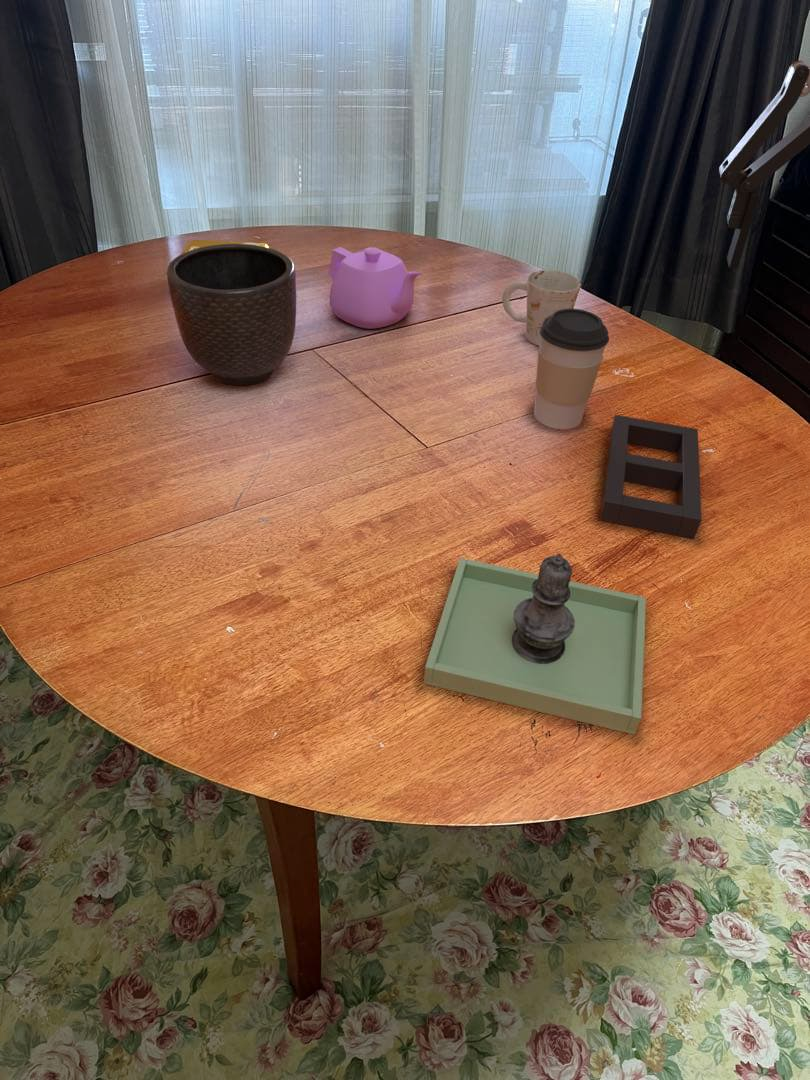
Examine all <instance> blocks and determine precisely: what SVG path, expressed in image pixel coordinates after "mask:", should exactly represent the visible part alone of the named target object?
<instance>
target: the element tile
mask: <svg viewBox="0 0 810 1080" xmlns="http://www.w3.org/2000/svg"><path fill="white" fill-rule="evenodd" d="M220 244H249V245H257V246H263V247H267V248H270V247H269V245H268V244H267V243H263V242H252V241H251V242H250V241H229V240H210V239H209V240H206V239H192V240H191V241H189V242H188V243H187V244H186V245H185V247H184V249H183V250H182V252H181V254H183V253H185V252H188V251H190V250H193V249H197V248H201V247H206V246H212V245H220ZM181 254H180V255H181Z"/></svg>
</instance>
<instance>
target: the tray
mask: <svg viewBox="0 0 810 1080" xmlns="http://www.w3.org/2000/svg"><path fill="white" fill-rule="evenodd" d="M538 575H539V573H534V572H529V571H525V570H520V569H515V568H510V567H506V566H501V565H496V564H491V563H487V562H482V561H477V560H473V559H467V558H463V557H459V560H458V563H457V566H456V569H455V572H454V575H453V579H452V582H451V585H450V587H449V591H448V593H447V597H446V600H445V604H444V607H443V609H442V613H441V616H440V618H439V621H438V625H437V629H436V632H435V634H434V638H433V641H432V644H431V646H430V647H431V648H430V650H429V654H428V656H427V659H426V663H425V665H424V674H423V675H424V676H423V684H424V685H428V686H431V687H436V688H440V689H444V690H448V691H452V692H456V693H460V694H465V695H469V696H473V697H477V698H482V699H486V700H490V701H494V702H498V703H502V704H507V705H510V706H515V707H518V708H522V709H527V710H531V711H534V712H539V713H544V714H546V715H547V714H548V715H551V716H555V717H559V718H564V719H568V720H571V721H577V722H580V723H585V724H589V725H593V726H597V727H599V728H600V727H601V728H604V729H610V730H613V731H618V732H622V733H626V734H630V735H633V736H634V735H636V733H637V730H638V728H639V725H640V723H641V720H642V711H643V710H642V709H643V688H644V687H643V686H644V685H643V684H644V663H645V662H644V661H645V639H646V636H645V635H646V615H647V614H646V613H647V597H646V596H643V595H638V594H633V593H629V592H623V591H619V590H614V589H609V588H605V587H600V586H597V585H596V586H595V585H592V584H586V583H581V582H578V581H577V582H576V581H571V580H570V582H569V586H568V587H569V589H570V598H569V600H568V601H567V602H565V604H564V605H565V606H566V607H567V608H568V609H569V610H570V612H571V613H572V614H573V617H574V620H575V627H574V630H573V632H572V633H571V635H570V636H569V637H568V638H566V639H565V640H564V642H565V651H564V653H563V655H562V656H561V657H560V659H558V660H556V661H555V662H552V663H548V664H538V663H533V662H530V661H528V660H526V659H524V658H522V657H521V656H520V655H519V654H518V653H517V652H516V651H515V649H514V648H513V645H512V635H513V633H514V631H515V630H516V629H517V627H516V624H515V621H514V618H513V617H514V610H515V608H516V606H517V605H518V604H519V603H520V602H522V601H524V600H525V599H528V598H532V597H533V593H532V584H533V582H534V581H535V580H537V579H538Z"/></svg>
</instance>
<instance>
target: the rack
mask: <svg viewBox="0 0 810 1080" xmlns="http://www.w3.org/2000/svg"><path fill="white" fill-rule="evenodd" d="M698 432H699V429H698V428H694V427H688V426H682V425H677V424H670V423H664V422H659V421H653V420H647V419H642V418H637V417H636V418H635V417H630V416H626V415H619V414H614V416H613V421H612V425H611V427H610V432H609V439H608V447H607V455H606V463H605V474H604V481H603V488H602V489H603V490H602V498H601V505H600V506H601V507H600V514H599V521H600V522H604V523H609V524H614V525H620V526H625V527H630V528H635V529H640V530H645V531H650V532H656V533H660V534H665V535H670V536H677V537H680V538H686V539H691V540H694V539H696V536H697V532H698V530H699V527H700V525H701V522H702V501H701V499H702V498H701V479H700V478H701V477H700V475H701V474H700V453H699V452H700V451H699V433H698ZM628 445H633V446H638V447H644V448H648V449H649V448H650V449H655V450H660V451H666V452H672V453H676V455H675V457H676V461H671V460H665V459H659V458H655V457H649V456H645V455H637V454H632V453H628V452H627V450H628ZM625 483H631V484H634V485H635V484H636V485H641V486H645V487H652V488H658V489H662V490H668V491H672V492H676V504H674V503H668V502H663V501H659V500H658V501H657V500H653V499H652V500H651V499H648V498H643V497H638V496H632V495H626V494H624V487H625Z"/></svg>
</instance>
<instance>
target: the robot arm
mask: <svg viewBox="0 0 810 1080" xmlns="http://www.w3.org/2000/svg"><path fill="white" fill-rule="evenodd" d="M809 94H810V65H807V64H806V63H805V62H804V61H802V60H795V61H793V63H791V64H790V66H789V68H788V70H787V73H786V75H785V78H784V80H783V82H782V85H781V87H780V90H778V92H777V94H776V95H775V96H774V97H773V99H772V100H771V101H770V103H768V105H767V106H766V107H765V108H764V109H763V111H762V112H761V114H759V116H758V118H757V119H756V120H755V121H754V123H752V125H751V127H750V128H749V129H748V130H747V131H746V133H745V134H744V135H743V137H742V138H741V139H740V140H739V142H737V144H736V146H735V147H734V148H733V150H732V151H731V152H730V153H729V154H728V156H727V157H725V159H724V160H723V162H722V163H721V164H720V166H719V169H718V172H719V176H720V180H721V182H722V183H723V184H725V185H726V184H727V185H730V186H732V187H733V188H734V192H733V195H732V199H731V203H730V206H729V209H728V213H727V216H726V221H727V225H728V226H727V227H728V229H734V234H733V236H732V239H731V243H730V247H729V248H728V249H729V250H728V253H727V256H726V260H727V265H728V268H729V269H734V270H738V268H739V266H740V262H741V258H742V255H743V253H744V250H745V246H746V243H747V239H748V236H749V234H750V231H751V227H752V225H753V221H754V218H755V214H756V211H757V209H758V205H759V203H760V199H761V194H760V191H759V189H758V187H759V186H760V185H761V184H762V183H764V182H765V181H767V180H768V179H769V178H770V177H771V176H772V175H774V174H775V173H776V172H777V171H779V170H780V169H781V168H782V167H784V166H785V165H786V164H787V163H789V162H790V161H791V160H792V159H794V157H796V156H797V155H798V154H800V153H801V152H802V151H803V150H804V149H806V148H807V147H808V146H809V145H810V114H809V115H808V116H807V117H806V119H805V120H803V121H802V122H801V123H799V125H797V126H796V127H795V128H794V129H792V130H791V131H790V132H788V133H787V134H786V135H785V136H784V137H783V138H781V140H779V141H778V142H776V143H775V144H774V145H773V146H772V147H771V148H770V149H768V150H767V151H766V152H765V153H763V154H762V155H761V156H760V157H759V158H757V159H756V160H755V161H754V162H752V163H751V164H750V165H749V166H748V163H750V161H751V160H752V159H753V157H754V156H755V155H756V154H757V153H758V151H759V150H760V149H761V148H762V146H764V144H765V143H766V141H767V140H768V139H769V138H770V137H771V135H772V134H773V133H774V132H775V130H776V129H777V128H778V127H779V126H780V124H781V123H782V122H783V120H784V119H785V118H786V117H787V115H789V113H790V112H791V111H792V109H793V108H794V107H795V105H796V104H797V103H798V100H799V98H800V97H801V98H802V97H806V96H808V95H809ZM746 166H748V167H746ZM745 167H746V168H745ZM744 168H745V169H744Z"/></svg>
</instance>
